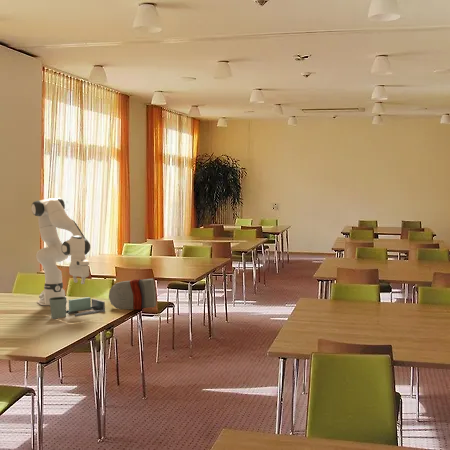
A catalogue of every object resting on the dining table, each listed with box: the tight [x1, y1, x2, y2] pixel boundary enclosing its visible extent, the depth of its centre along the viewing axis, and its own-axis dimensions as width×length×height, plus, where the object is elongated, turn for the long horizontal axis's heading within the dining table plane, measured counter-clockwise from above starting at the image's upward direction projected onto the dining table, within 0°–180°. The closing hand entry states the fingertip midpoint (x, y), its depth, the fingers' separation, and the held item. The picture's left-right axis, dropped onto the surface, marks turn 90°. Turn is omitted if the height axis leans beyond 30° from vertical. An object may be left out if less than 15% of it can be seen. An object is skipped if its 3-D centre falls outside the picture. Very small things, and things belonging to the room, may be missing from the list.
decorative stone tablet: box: [108, 278, 157, 311], centre depth 424 cm, size 19×6×30 cm
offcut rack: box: [66, 298, 106, 317], centre depth 413 cm, size 15×20×7 cm
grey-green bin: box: [49, 296, 67, 320], centre depth 402 cm, size 10×10×12 cm
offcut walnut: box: [76, 310, 95, 314], centre depth 410 cm, size 4×10×2 cm, turn 119°
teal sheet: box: [68, 296, 92, 312], centre depth 416 cm, size 2×14×9 cm, turn 130°
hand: (79, 283), depth 415 cm, fingers open, 8 cm apart
